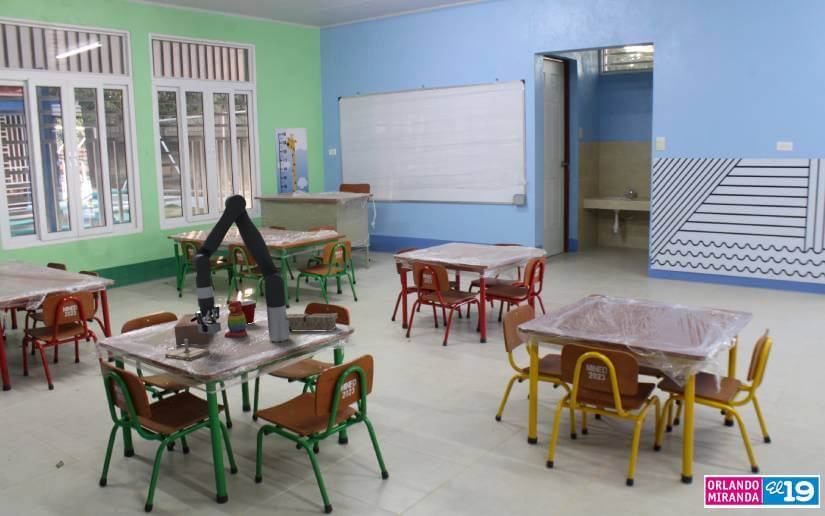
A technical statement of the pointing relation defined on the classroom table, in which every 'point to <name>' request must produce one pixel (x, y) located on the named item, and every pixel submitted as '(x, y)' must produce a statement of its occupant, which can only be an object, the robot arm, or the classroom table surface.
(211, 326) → the grey storage bin
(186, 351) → the keeper board
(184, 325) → the tissue box cover
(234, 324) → the stacking bear
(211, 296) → the robot arm
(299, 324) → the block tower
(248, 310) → the plastic cup
